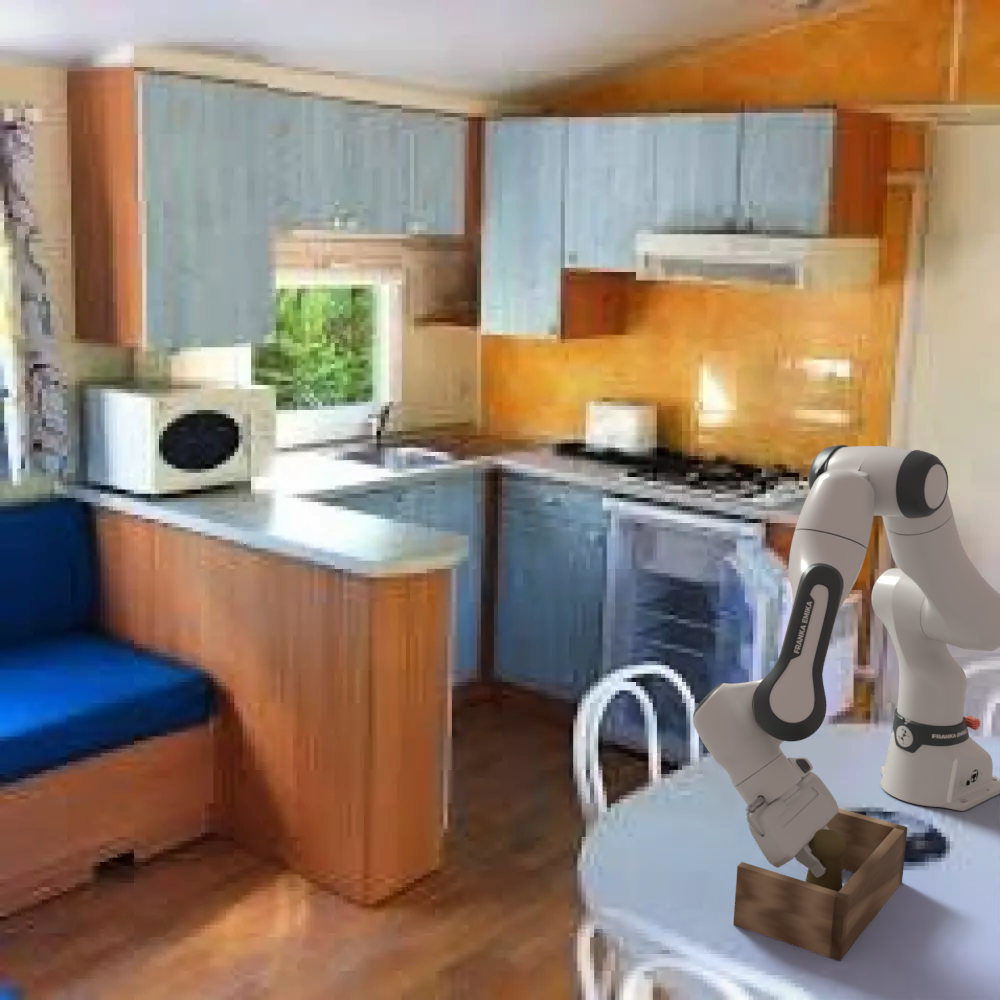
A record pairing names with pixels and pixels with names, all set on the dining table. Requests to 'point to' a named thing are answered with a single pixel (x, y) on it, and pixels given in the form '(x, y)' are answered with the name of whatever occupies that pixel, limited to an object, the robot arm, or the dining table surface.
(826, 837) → the olive brown pawn
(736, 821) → the dining table surface
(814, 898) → the open-fronted crate
